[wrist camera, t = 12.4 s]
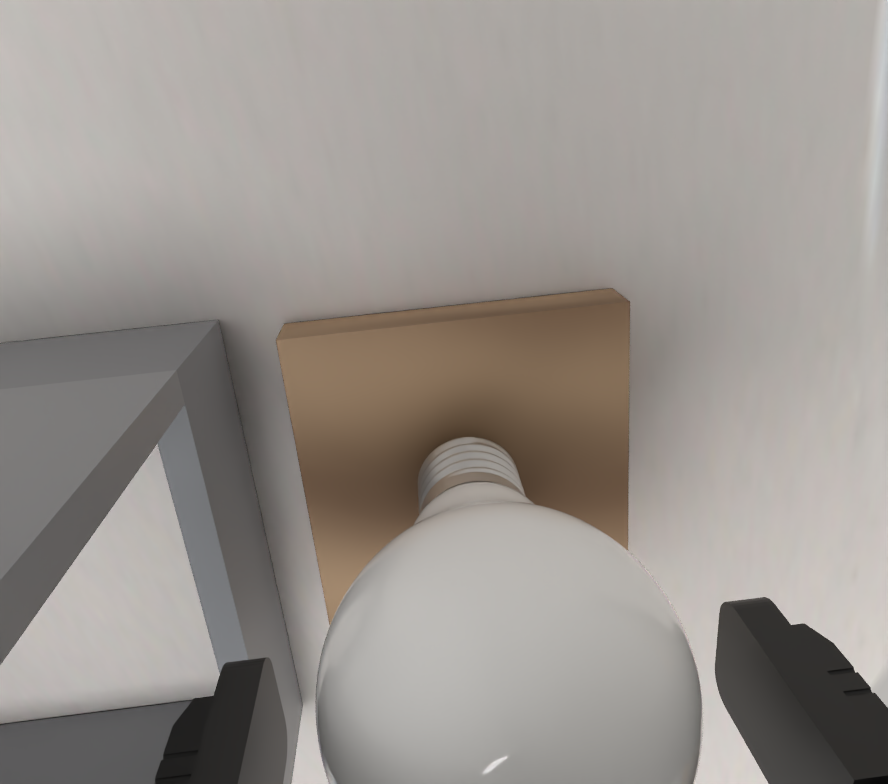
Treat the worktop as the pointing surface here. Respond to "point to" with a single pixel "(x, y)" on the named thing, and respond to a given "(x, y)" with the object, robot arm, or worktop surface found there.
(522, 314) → the stand
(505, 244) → the worktop surface
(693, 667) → the lightbulb
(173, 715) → the case
